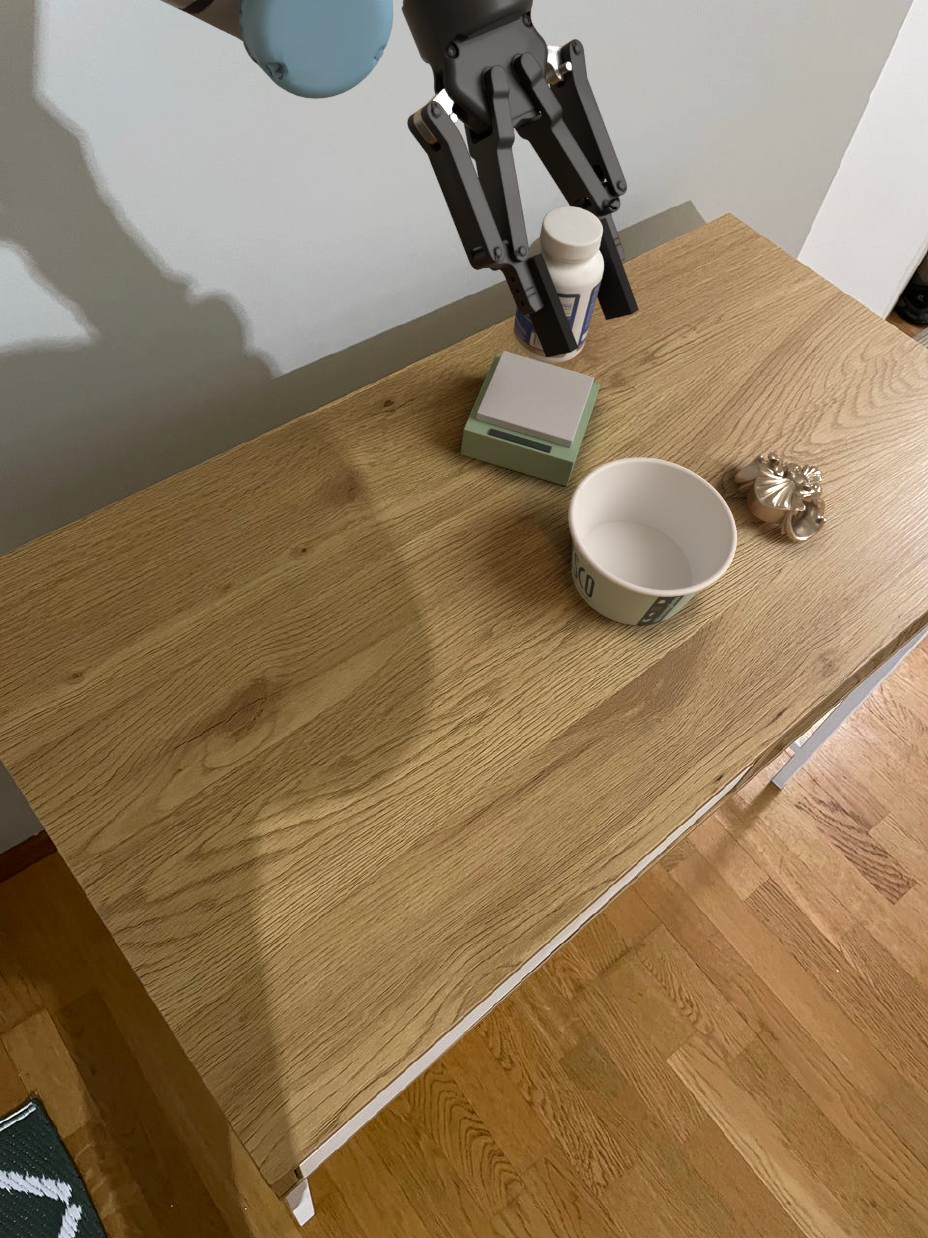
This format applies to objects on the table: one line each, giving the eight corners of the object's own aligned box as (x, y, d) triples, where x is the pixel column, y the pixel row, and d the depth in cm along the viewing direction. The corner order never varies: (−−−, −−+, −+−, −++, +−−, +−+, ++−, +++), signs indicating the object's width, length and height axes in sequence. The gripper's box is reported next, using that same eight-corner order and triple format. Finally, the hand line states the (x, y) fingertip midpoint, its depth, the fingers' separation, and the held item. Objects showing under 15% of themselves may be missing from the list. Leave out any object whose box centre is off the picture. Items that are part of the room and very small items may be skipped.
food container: (738, 614, 70) (770, 565, 64) (596, 663, 67) (617, 616, 61) (661, 493, 75) (684, 439, 70) (527, 533, 72) (540, 479, 67)
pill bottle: (554, 304, 71) (579, 189, 63) (598, 348, 69) (630, 235, 61) (497, 329, 69) (515, 213, 61) (541, 375, 67) (565, 262, 59)
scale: (460, 454, 76) (464, 422, 72) (492, 379, 80) (497, 345, 77) (566, 486, 75) (575, 455, 72) (592, 409, 79) (602, 376, 76)
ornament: (842, 521, 76) (863, 493, 72) (782, 557, 73) (801, 529, 70) (775, 455, 79) (791, 425, 75) (715, 487, 76) (729, 457, 73)
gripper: (525, -43, 63) (642, 289, 72) (305, 40, 56) (466, 398, 64) (598, -102, 57) (717, 269, 66) (361, -18, 49) (531, 388, 58)
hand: (592, 332), depth 65 cm, fingers closed on pill bottle, 5 cm apart
